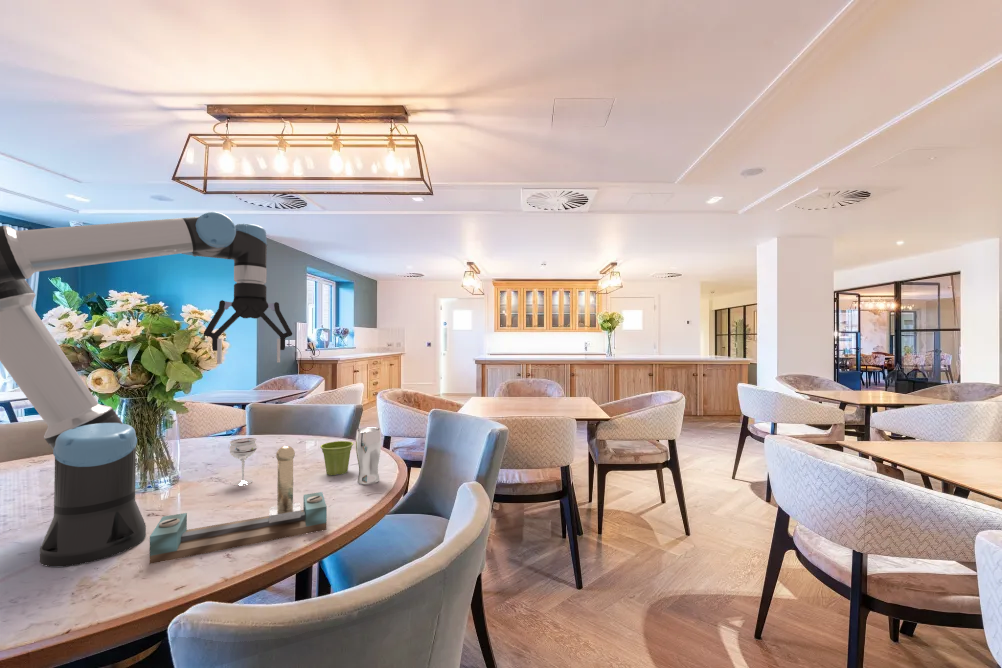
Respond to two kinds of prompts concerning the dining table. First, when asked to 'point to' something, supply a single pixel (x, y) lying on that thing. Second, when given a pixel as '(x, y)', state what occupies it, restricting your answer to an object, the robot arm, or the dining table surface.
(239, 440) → the wineglass
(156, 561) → the rail track
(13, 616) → the dining table surface
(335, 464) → the plant pot
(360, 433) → the beer glass
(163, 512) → the dining table surface
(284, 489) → the knob-topped peg
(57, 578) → the dining table surface
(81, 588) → the dining table surface
